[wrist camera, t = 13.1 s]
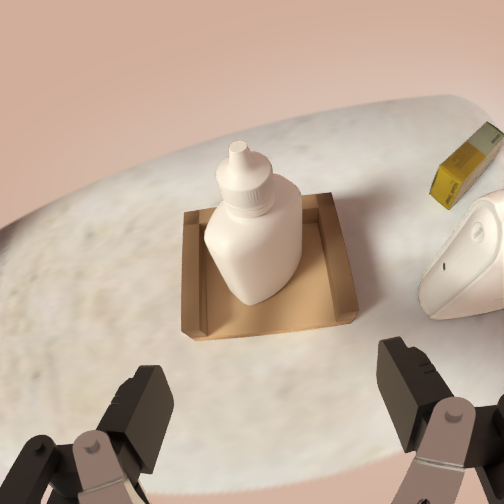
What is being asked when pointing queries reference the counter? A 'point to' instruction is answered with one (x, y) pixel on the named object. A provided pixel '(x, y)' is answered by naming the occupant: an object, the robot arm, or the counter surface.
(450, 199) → the medication box
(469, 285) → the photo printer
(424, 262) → the counter surface
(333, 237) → the oak tray
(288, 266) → the eye dropper bottle
